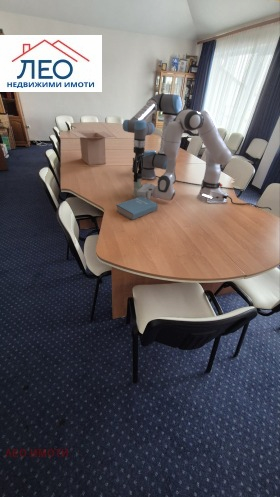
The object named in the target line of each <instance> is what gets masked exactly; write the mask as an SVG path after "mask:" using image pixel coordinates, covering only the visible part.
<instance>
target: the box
mask: <svg viewBox="0 0 280 497" xmlns="http://www.w3.org/2000/svg"><path fill="white" fill-rule="evenodd" d="M70 133H71V134H72V135H74V136H75V137H77V138H79V144H80V153H81V160H83V162H85V163H86V165H87V166H95V165H97V166H98V165H106V163H107V162H106V158H107V157H106V138H113V137H114V136H113V135H111V134H109V133H108V132H105V131H98V132H96V131H95V130H92V129H91V130H77V132H76V131H70Z"/></svg>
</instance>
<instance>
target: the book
mask: <svg viewBox="0 0 280 497" xmlns="http://www.w3.org/2000/svg"><path fill="white" fill-rule="evenodd" d="M158 206H159V205H158V203H157V202H155V201H153V200H151V199H147V198H144V197H142V196H140V197H133V198H131V199H128V200H125V201H123V202H120V203H116V208H117V209H116V212H117V213H119V214H120V215H122V216H124V217H125V218H127V219H129V220H131V221H133V220H136V219H138V218H141V217H143V216H146V215H148V214H150V213H153V212H155V211H157V210H158Z"/></svg>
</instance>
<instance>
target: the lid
mask: <svg viewBox="0 0 280 497" xmlns="http://www.w3.org/2000/svg"><path fill="white" fill-rule="evenodd" d="M137 173H138V172H137ZM132 177H133V178H134V174H133V175H132ZM141 178H142V174H141V173H138V179H141ZM141 180H142V179H141Z"/></svg>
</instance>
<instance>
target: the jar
mask: <svg viewBox="0 0 280 497" xmlns="http://www.w3.org/2000/svg"><path fill="white" fill-rule="evenodd" d="M141 185H142V179H137V182H134V181H133V193H132V195H133V198H137V197H139V196H137V191H134V188H137V189H140V187H141Z"/></svg>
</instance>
